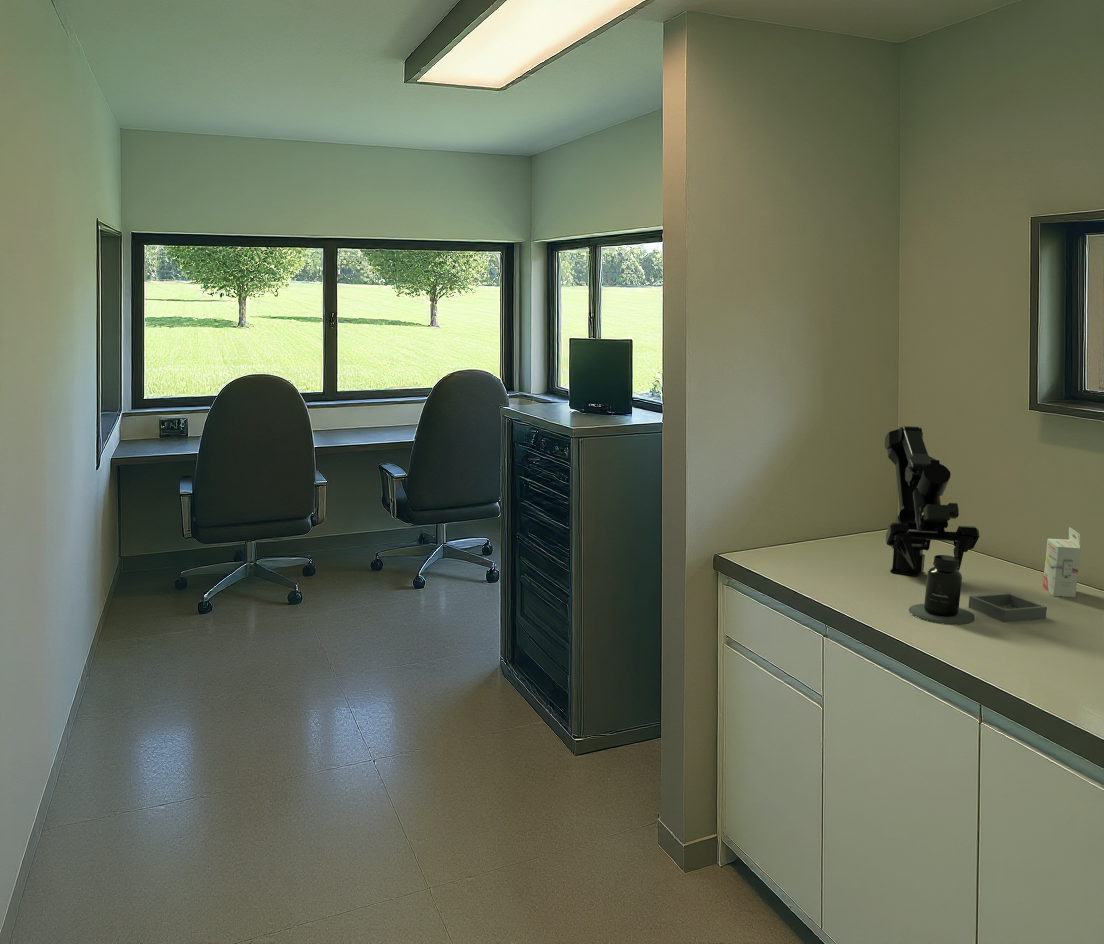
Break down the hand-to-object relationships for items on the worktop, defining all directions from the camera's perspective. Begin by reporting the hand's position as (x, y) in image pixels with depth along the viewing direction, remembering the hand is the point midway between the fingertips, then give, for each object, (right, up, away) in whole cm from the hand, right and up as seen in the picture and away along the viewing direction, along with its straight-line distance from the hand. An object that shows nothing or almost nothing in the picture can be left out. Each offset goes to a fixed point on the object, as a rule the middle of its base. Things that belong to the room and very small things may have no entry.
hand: (936, 569), depth 207 cm
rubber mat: (-1, -9, -6) cm, 11 cm away
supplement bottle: (-1, -9, -6) cm, 11 cm away
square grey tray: (+13, -9, -4) cm, 17 cm away
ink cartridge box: (+33, -7, +13) cm, 36 cm away
